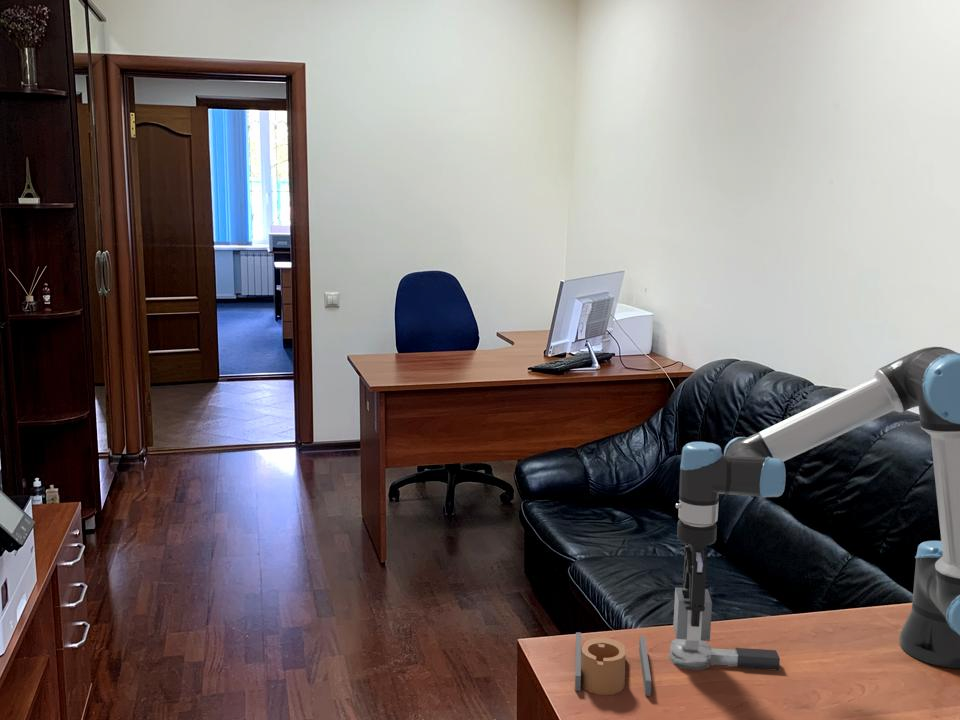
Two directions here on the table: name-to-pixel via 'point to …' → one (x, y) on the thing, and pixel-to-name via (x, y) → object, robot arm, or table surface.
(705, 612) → the socket
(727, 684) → the table surface
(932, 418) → the robot arm
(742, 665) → the ratchet
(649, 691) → the bar
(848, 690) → the table surface
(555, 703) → the table surface
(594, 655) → the tan slotted hollow cylinder
